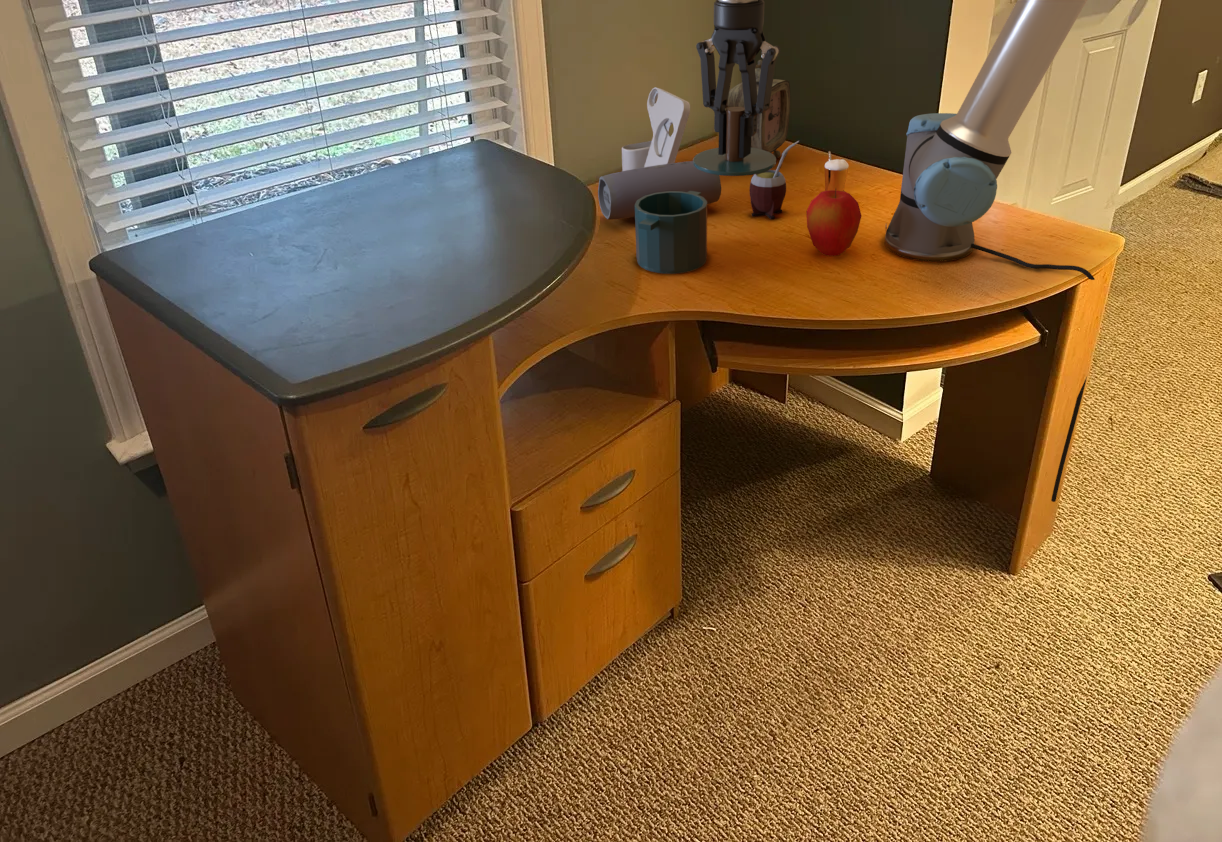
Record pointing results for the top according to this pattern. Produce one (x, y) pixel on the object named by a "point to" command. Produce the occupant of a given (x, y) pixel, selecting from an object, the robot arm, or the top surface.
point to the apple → (833, 221)
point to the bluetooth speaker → (653, 186)
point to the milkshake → (835, 174)
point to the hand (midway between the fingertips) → (734, 153)
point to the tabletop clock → (768, 114)
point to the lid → (734, 153)
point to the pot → (671, 231)
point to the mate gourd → (768, 190)
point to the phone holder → (659, 132)
